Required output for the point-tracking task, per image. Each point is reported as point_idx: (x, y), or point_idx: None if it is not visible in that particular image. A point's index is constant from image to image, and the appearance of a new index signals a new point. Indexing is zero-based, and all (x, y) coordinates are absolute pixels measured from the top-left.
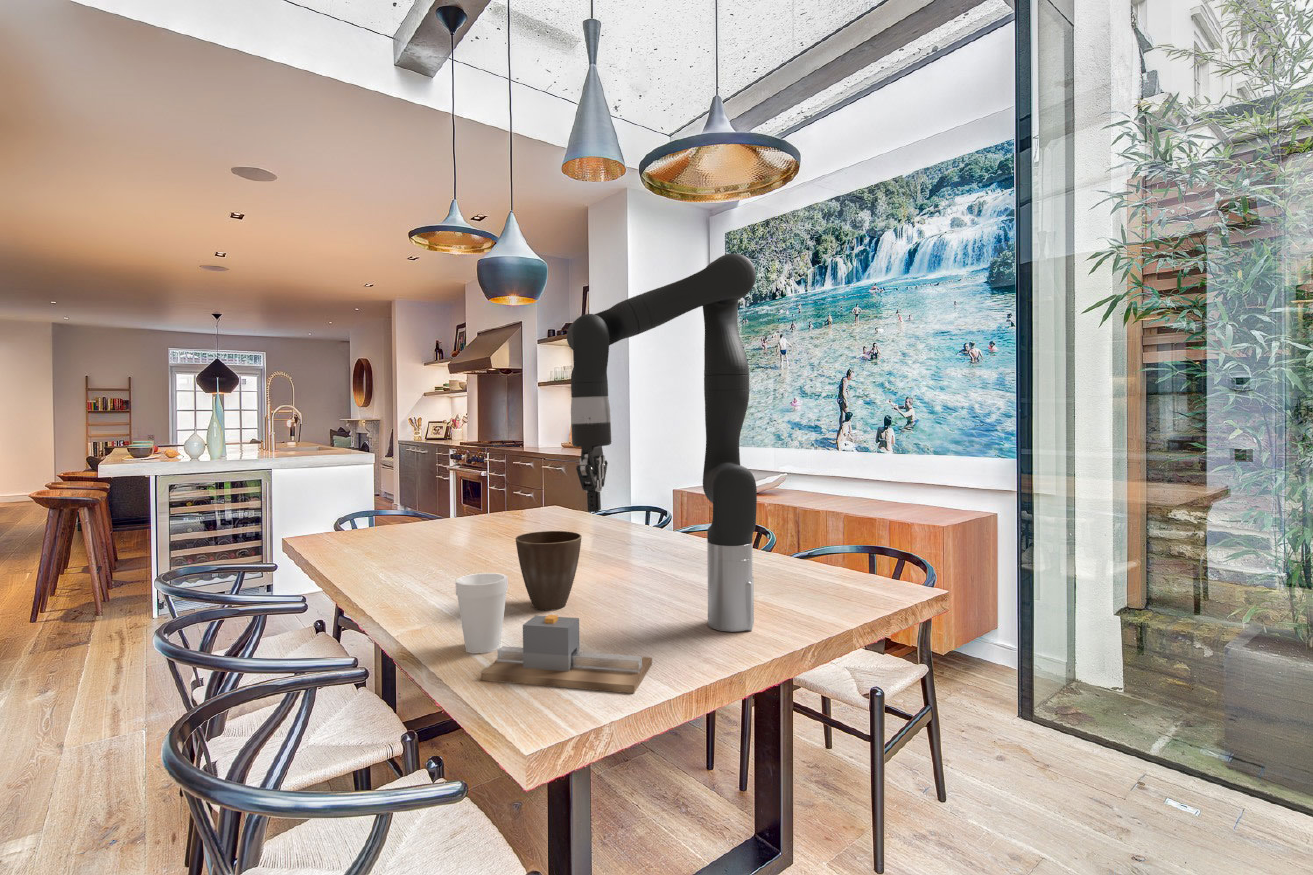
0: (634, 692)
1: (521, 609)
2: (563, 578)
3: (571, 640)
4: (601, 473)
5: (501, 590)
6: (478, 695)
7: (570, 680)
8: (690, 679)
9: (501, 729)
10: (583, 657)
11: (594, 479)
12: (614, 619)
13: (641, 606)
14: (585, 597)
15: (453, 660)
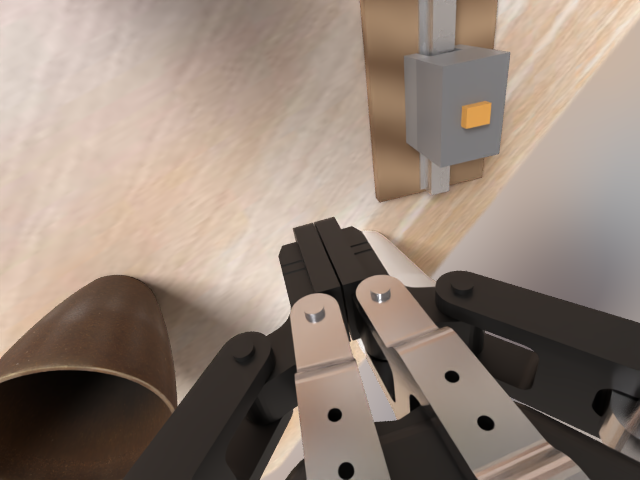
0: None
1: (172, 324)
2: (118, 304)
3: (472, 52)
4: (367, 400)
5: (410, 277)
6: (523, 141)
7: (495, 17)
8: None
9: (619, 40)
10: (454, 22)
11: (520, 323)
12: (112, 133)
13: None
14: (10, 279)
15: (418, 252)
